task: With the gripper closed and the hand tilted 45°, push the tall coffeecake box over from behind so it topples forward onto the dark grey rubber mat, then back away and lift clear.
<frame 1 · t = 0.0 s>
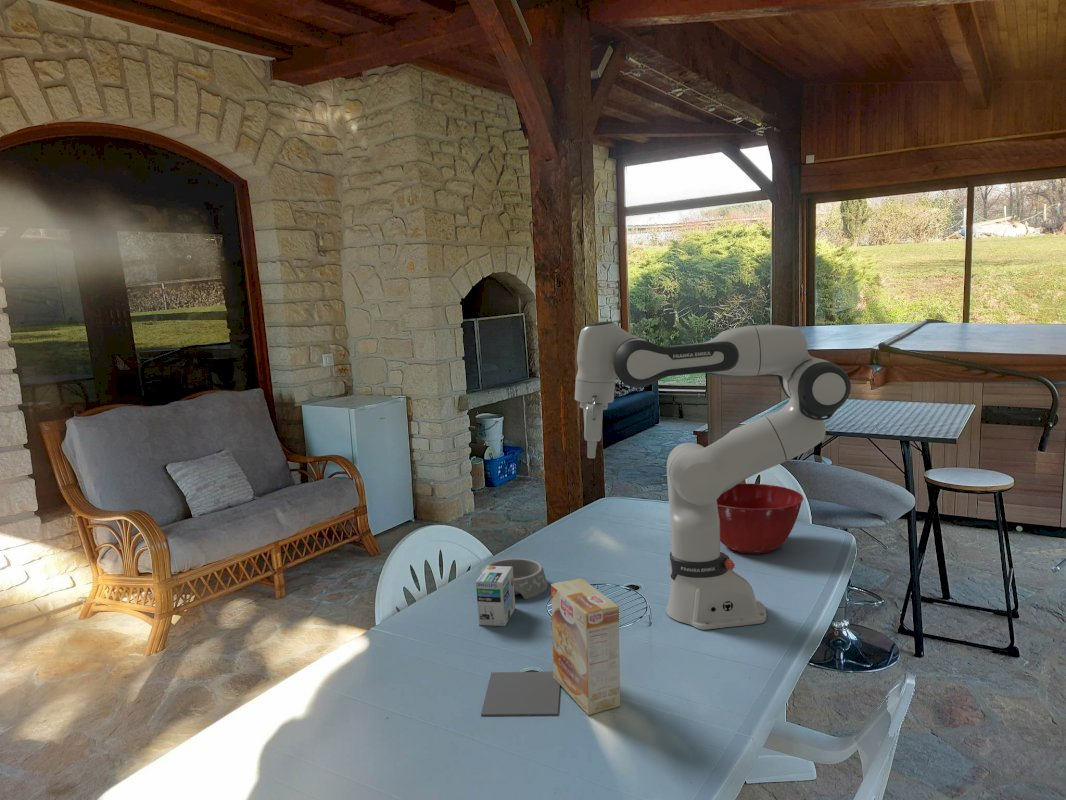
hand: (590, 453, 168), 39 cm above the table, tool pointing down, fingers open, 8 cm apart
coffeecake box: (585, 692, 140), on the table, touching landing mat
dog bowl: (513, 588, 193), on the table
mixing bowl: (751, 546, 214), on the table
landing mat: (522, 693, 141), on the table
light bulb box: (497, 617, 176), on the table
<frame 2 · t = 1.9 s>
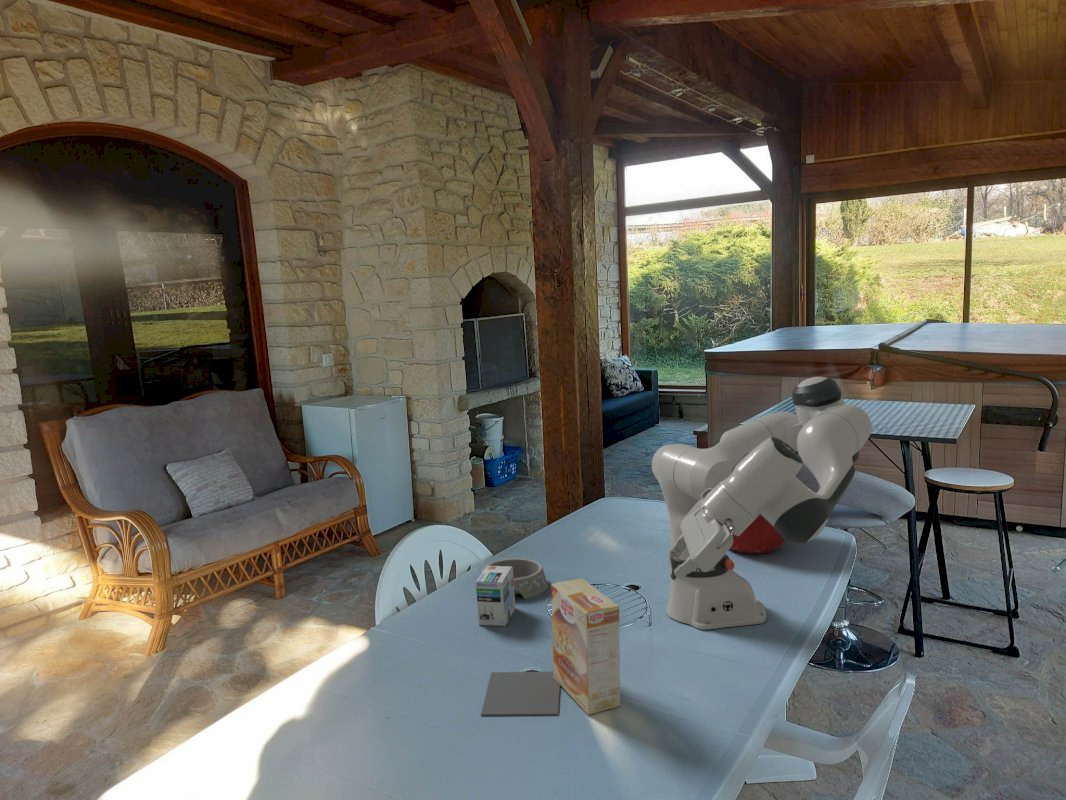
hand: (674, 565, 135), 25 cm above the table, tool tilted 45°, fingers open, 8 cm apart
nothing on the table moved.
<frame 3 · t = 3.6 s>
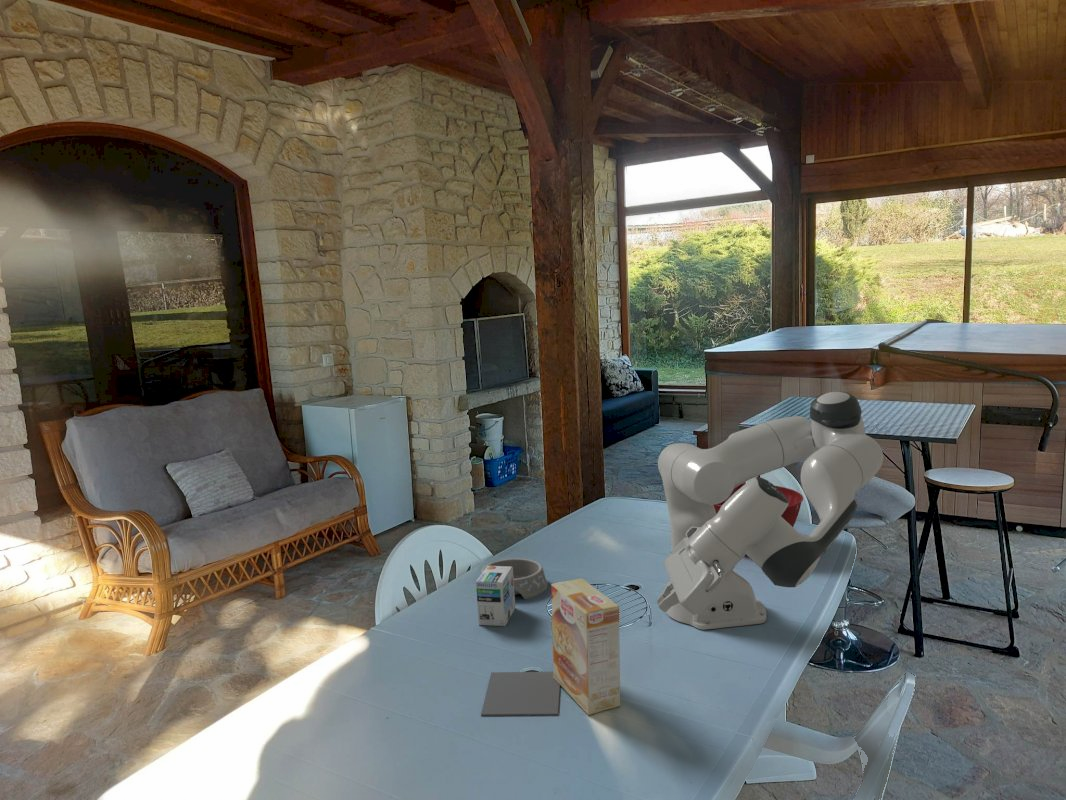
hand: (660, 606, 134), 18 cm above the table, tool tilted 45°, fingers closed
nothing on the table moved.
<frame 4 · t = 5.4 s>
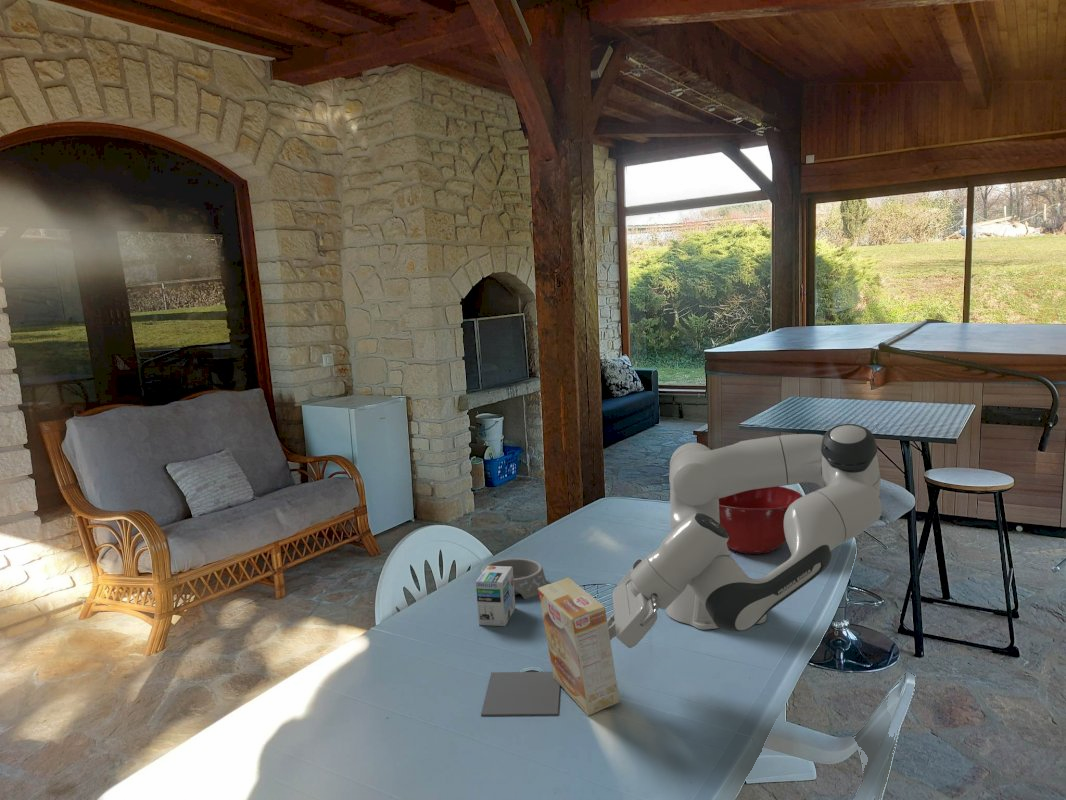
hand: (603, 636, 137), 11 cm above the table, tool tilted 45°, fingers closed
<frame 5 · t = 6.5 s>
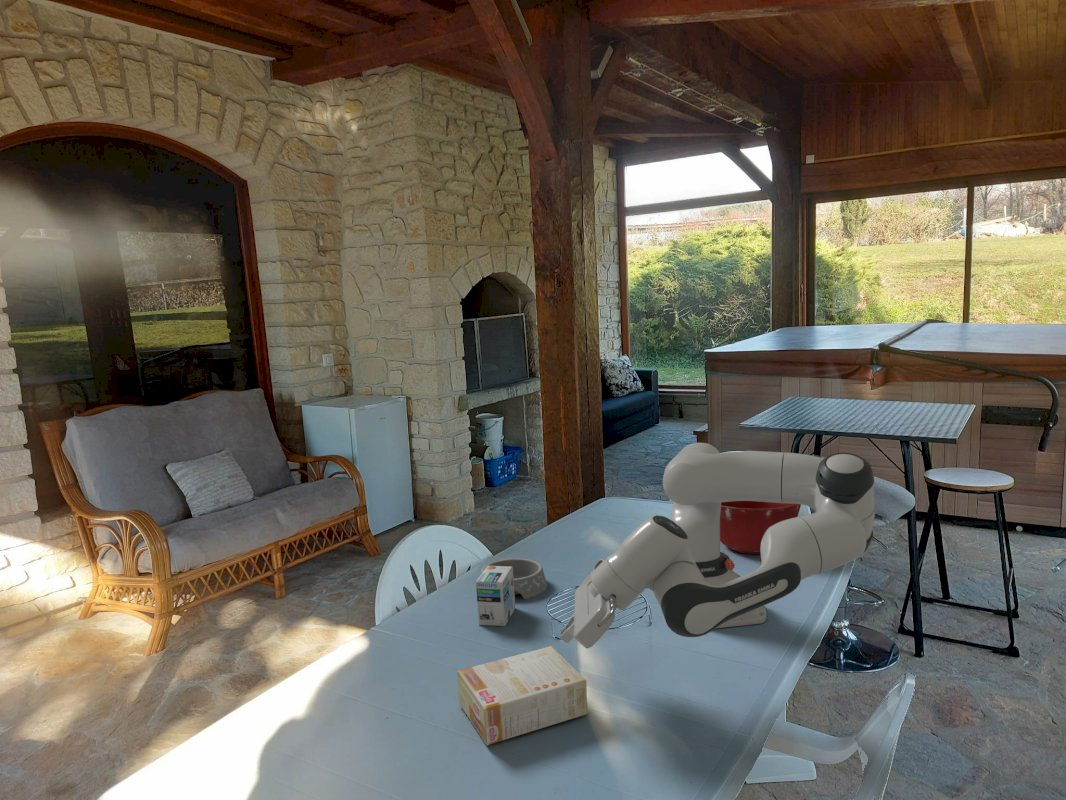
hand: (563, 637, 138), 11 cm above the table, tool tilted 45°, fingers closed
coffeecake box: (570, 678, 138), point 4 cm above the table, touching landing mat
everything else where it was.
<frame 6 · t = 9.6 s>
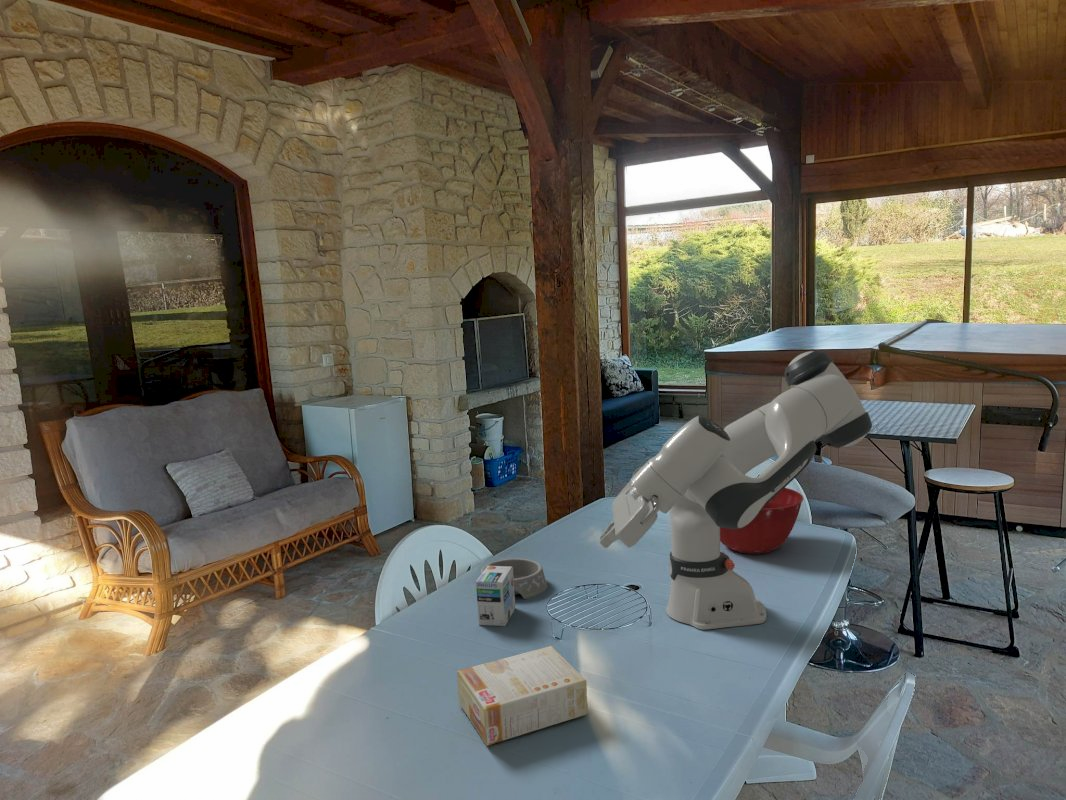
hand: (602, 543, 135), 29 cm above the table, tool tilted 45°, fingers closed
nothing on the table moved.
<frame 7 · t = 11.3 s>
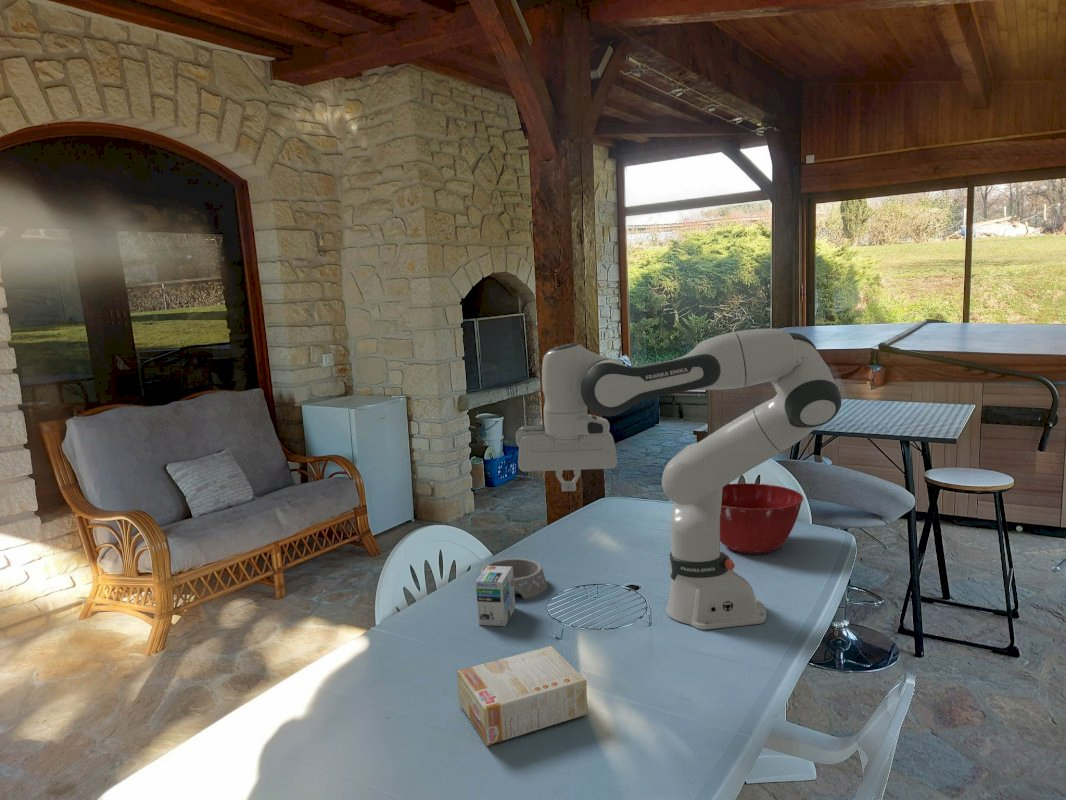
hand: (568, 490, 151), 35 cm above the table, tool pointing down, fingers closed
nothing on the table moved.
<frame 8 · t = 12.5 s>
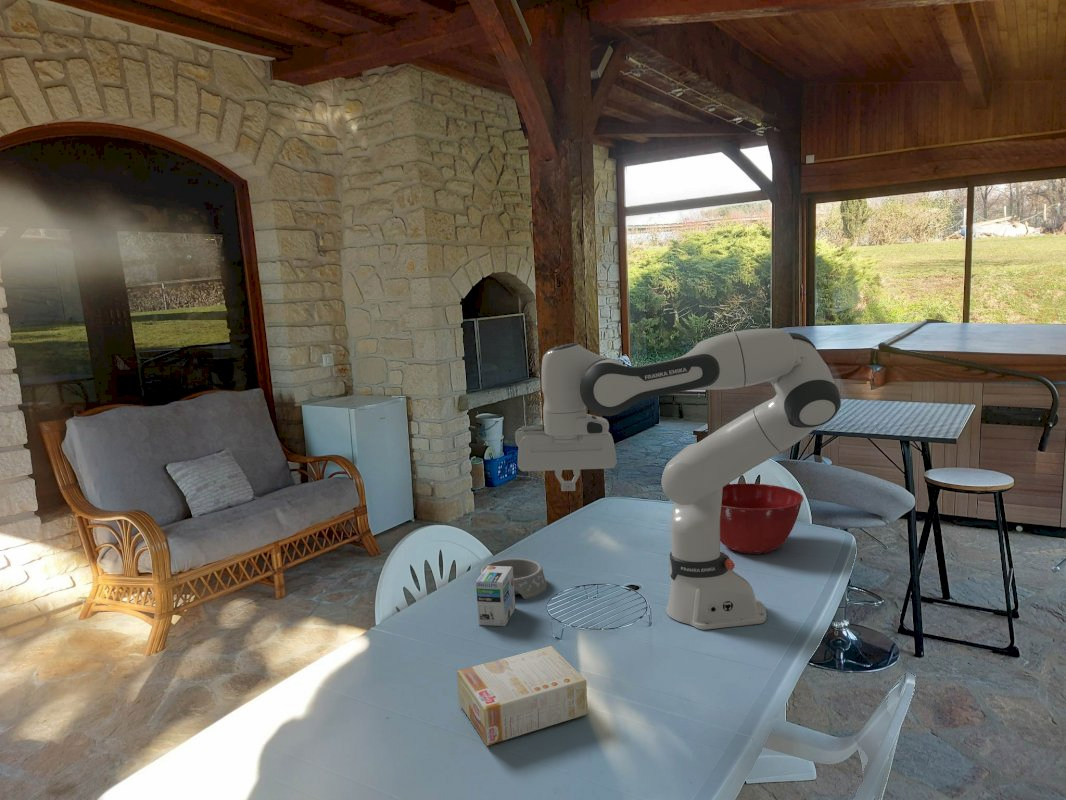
hand: (568, 490, 151), 35 cm above the table, tool pointing down, fingers closed
nothing on the table moved.
at the end: coffeecake box tilted 90°; coffeecake box touching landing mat; coffeecake box inside the target area (4.5 cm from its centre), point 3.9 cm above the table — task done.
